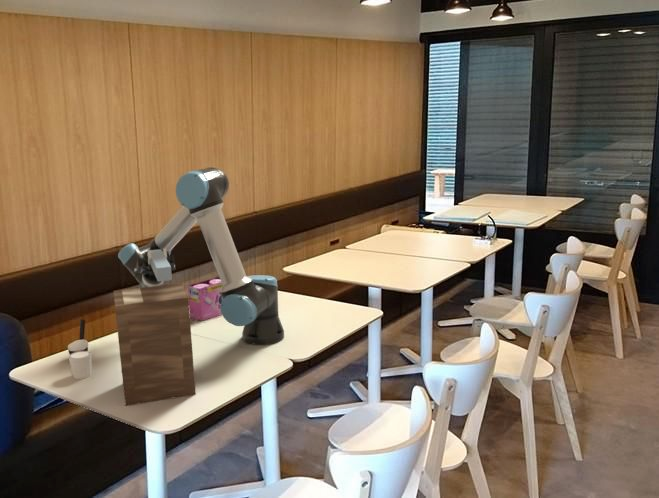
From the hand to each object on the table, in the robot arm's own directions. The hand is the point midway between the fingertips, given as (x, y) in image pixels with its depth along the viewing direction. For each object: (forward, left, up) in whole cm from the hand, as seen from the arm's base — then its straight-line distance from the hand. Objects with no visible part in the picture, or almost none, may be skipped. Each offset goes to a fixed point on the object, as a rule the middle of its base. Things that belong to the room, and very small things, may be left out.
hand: (157, 253), depth 203 cm
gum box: (-25, -52, -39) cm, 70 cm away
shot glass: (+26, -6, -39) cm, 47 cm away
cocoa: (+27, -22, -39) cm, 53 cm away
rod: (0, +4, -5) cm, 6 cm away
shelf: (+4, +14, -39) cm, 41 cm away
